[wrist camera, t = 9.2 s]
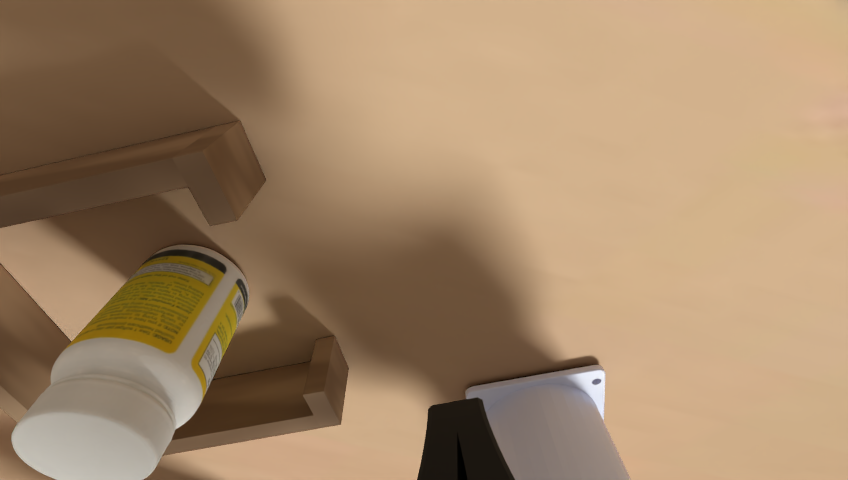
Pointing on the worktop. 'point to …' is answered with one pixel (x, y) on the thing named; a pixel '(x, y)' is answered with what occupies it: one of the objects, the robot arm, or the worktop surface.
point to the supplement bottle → (136, 369)
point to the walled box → (220, 203)
